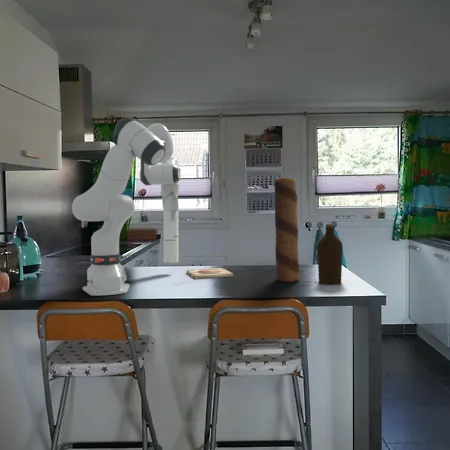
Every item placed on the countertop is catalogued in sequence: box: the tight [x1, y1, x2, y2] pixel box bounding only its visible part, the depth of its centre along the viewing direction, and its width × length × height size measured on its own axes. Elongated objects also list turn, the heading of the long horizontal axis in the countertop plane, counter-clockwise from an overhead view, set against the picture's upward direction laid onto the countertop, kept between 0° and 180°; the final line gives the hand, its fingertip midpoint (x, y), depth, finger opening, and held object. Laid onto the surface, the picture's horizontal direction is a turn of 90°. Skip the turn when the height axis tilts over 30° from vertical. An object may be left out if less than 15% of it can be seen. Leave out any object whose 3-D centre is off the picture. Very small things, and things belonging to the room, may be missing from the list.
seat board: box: [186, 267, 234, 280], centre depth 225 cm, size 18×18×2 cm
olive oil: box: [316, 223, 344, 286], centre depth 199 cm, size 11×11×25 cm
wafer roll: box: [274, 177, 300, 283], centre depth 206 cm, size 10×11×45 cm
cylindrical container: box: [163, 210, 179, 264], centre depth 228 cm, size 7×7×25 cm
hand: (170, 220), depth 228 cm, fingers closed on cylindrical container, 7 cm apart
